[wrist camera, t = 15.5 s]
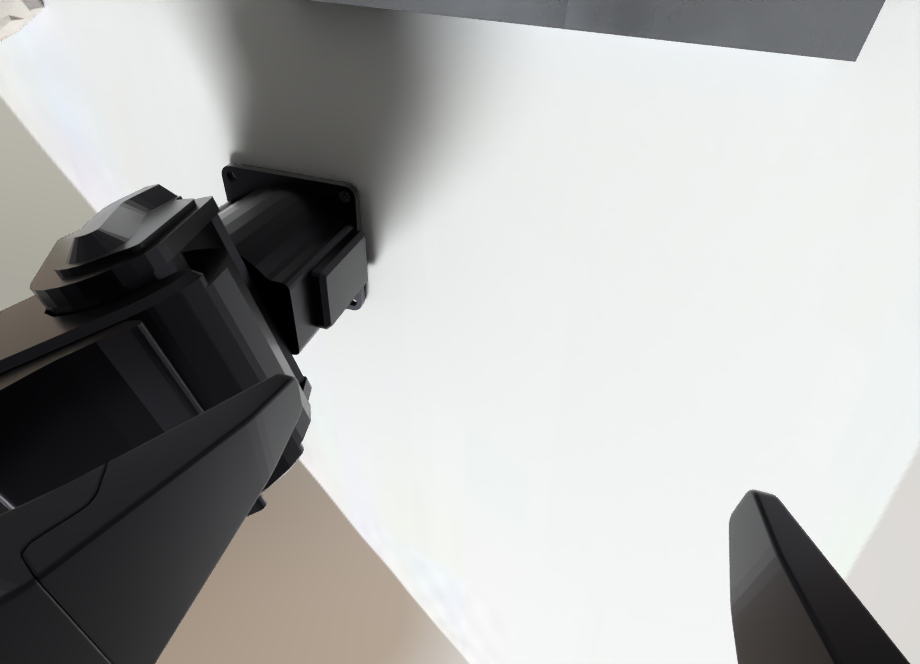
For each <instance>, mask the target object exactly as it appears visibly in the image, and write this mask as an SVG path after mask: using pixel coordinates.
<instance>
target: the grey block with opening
mask: <svg viewBox="0 0 920 664" xmlns="http://www.w3.org/2000/svg"><path fill="white" fill-rule="evenodd" d="M311 1H320V2H329V3H338V4H347V5H356V6H365V7H374V8H383V9H392V10H400V11H409V12H418V13H427V14H436V15H445V16H454V17H463V18H472V19H480V20H489V21H498V22H507V23H516V24H525V25H534V26H543V27H552V28H561V29H569V30H578V31H587V32H596V33H605V34H614V35H623V36H632V37H641V38H649V39H658V40H667V41H676V42H685V43H694V44H703V45H712V46H721V47H729V48H738V49H747V50H756V51H765V52H774V53H783V54H792V55H801V56H810V57H818V58H827V59H836V60H845V61H854V62H855V61H856V59H857V57H858V55H859V53H860V51H861V49H862V47H863V45H864V43H865V41H866V39H867V37H868V35H869V33H870V31H871V29H872V27H873V25H874V23H875V20H876V18H877V16H878V14H879V12H880V10H881V8H882V6H883V4H884V2H885V0H311Z"/></svg>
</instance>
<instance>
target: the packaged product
mask: <svg viewBox="0 0 920 664" xmlns="http://www.w3.org/2000/svg"><path fill="white" fill-rule="evenodd" d="M43 8H44V6H43V4H42V2H41V1H40V0H0V41H2V40H4V39H6V38H7V37H9V36H11V35H13V34H14V33H16V32H18V31H19V30H20V29H22V28H23V27H24V26H25V25H26V24H27V23H29V22H30V21H31V20H32V19H33V18H34V17H35V16H36V15H37V14H38V13H39V12H40V11H41V10H42V9H43Z"/></svg>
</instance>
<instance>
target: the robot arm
mask: <svg viewBox="0 0 920 664" xmlns="http://www.w3.org/2000/svg"><path fill="white" fill-rule="evenodd" d="M232 172H233V173H234V174H235V175H236V177H237V179H236V178H235V177H234V176H233V174H232ZM222 178H223V182H224V187H225V191H226V196H227V200H228V202H227V203H225V204H224V205H222V206H220V207H219V208H218V206H217V204H216V202H215V200H214V198H213V197H212V196H209V197H204V198H199V199H182V197H181V196H177V195H175V194H173V193H172V192H170V191H169V190H167V189H166V188H164V187H162V186H161V185H159V184H157V185H153V186H148V187H145V188H143V189H140V190H138V191H136V192H134V193H132V194H130V195H128V196H126V197H124V198H122V199H120V200H118V201H116V202H114V203H112V204H110V205H108V206H107V207H105V208H104V209H102V210H101V211H100V212H98V213H97V214H96V216H94V218H92V219H91V220H90V221H88V222H87V223H86V224H85V225H84V227H83V228H82V229H81V230H79V231H76V232H74V233H72V234H69V235H67V236H65V237H62V238H61V239H59V240H58V241H57V242H56V244H55V245H54V247H53V248H52V250H51V252H50V253H49V255H48V257H47V258H46V260H45V261H44V263H43V265H42V266H41V268H40V270H39V271H38V273H37V274H36V276H35V277H34V279H33V281H32V282H31V284H30V289H31V290H32V291H33V293H34V294H35V295H34V296H32V297H30V298H28V299H26V300H24V301H21V302H19V303H18V304H15V305H13V306H11V307H9V308H6V309H5V310H2V311H0V664H155V663H156V661H157V660H158V658H159V656H160V655H161V653H162V652H163V650H164V648H165V647H166V645H167V644H168V642H169V640H170V639H171V637H172V635H173V634H174V632H175V631H176V629H177V627H178V626H179V624H180V623H181V621H182V619H183V618H184V616H185V615H186V613H187V611H188V610H189V608H190V606H191V605H192V603H193V601H194V600H195V598H196V597H197V595H198V594H199V592H200V590H201V589H202V587H203V585H204V584H205V582H206V581H207V579H208V577H209V576H210V574H211V572H212V571H213V569H214V568H215V566H216V564H217V563H218V561H219V560H220V558H221V556H222V555H223V553H224V552H225V550H226V548H227V547H228V545H229V543H230V542H231V540H232V538H233V537H234V535H235V534H236V532H237V531H238V529H239V527H240V526H241V524H242V522H243V521H244V519H245V518H246V517H247V516H249V515H251V514H254V513H256V512H258V511H260V510H262V509H263V508H264V507H265V506H266V503H267V502H266V500H265V499H264V497H263V496H262V493H263V492H265V491H266V490H268V489H269V488H270V487H271V486H272V485H273V484H274V483H276V482H277V481H278V480H279V479H280V478H281V477H282V476H283V475H285V474H286V473H287V472H288V471H289V470H290V469H291V467H292V466H293V465H294V464H295V463H296V461H297V460H298V459H299V458H300V456H301V455H302V453H303V451H304V448H303V445H302V444H301V442H302V441H303V439H304V436H305V434H306V431H307V429H308V426H309V424H310V421H311V412H310V404H309V402H308V400H309V396H310V392H311V385H310V383H309V381H308V379H307V377H305V376H303V375H302V373H301V371H300V369H299V367H298V366H297V364H296V362H295V360H294V358H293V356H292V354H293V355H297V354H299V353H300V352H301V350H302V349H303V348H304V347H305V345H306V344H307V343H308V342H309V341H310V339H311V338H312V337H313V336H314V335H315V333H316V332H317V331H318V330H319V328H323V329H328V328H329V327H331V326H332V325H333V324H334V323H335V322H336V320H337V319H338V318H339V316H340V315H341V314H342V313H343V311H344V310H345V309H351V310H358V309H360V308H361V306H362V305H363V304H364V301H365V294H364V285H365V284H366V283H367V259H366V238H365V235H364V234H363V232H362V231H361V220H360V201H359V193H358V190H357V189H356V187H355V186H353V185H352V184H350V183H346V182H340V181H334V180H329V179H323V178H317V177H311V176H306V175H300V174H294V173H288V172H282V171H277V170H271V169H265V168H259V167H254V166H248V165H242V164H236V163H231V164H229V165H227V166H225V167H224V168H223V169H222ZM343 192H347V193H348V194H349V196H350V199H347V198H346V197H345V196H344V194H343ZM353 299H355V300H356V301H357V302H355V301H353ZM729 561H730V603H731V615H732V623H733V631H734V638H735V646H736V653H737V660H738V664H910V663H909V662H908V661H907V659H906V658H905V657H904V656H903V654H902V653H901V652H900V650H899V649H898V648H897V647H896V645H895V644H894V643H893V642H892V640H891V639H890V638H889V637H888V635H887V634H886V633H885V631H884V630H883V629H882V628H881V626H880V625H879V624H878V623H877V621H876V620H875V619H874V618H873V617H872V615H871V614H870V613H869V611H868V610H867V609H866V608H865V606H864V605H863V604H862V603H861V601H860V600H859V599H858V598H857V596H856V595H855V594H854V593H853V591H852V590H851V589H850V588H849V586H848V585H847V584H846V583H845V581H844V580H843V579H842V578H841V576H840V575H839V574H838V573H837V571H836V570H835V569H834V567H833V566H832V565H831V564H830V562H829V561H828V560H827V559H826V557H825V556H824V555H823V554H822V552H821V551H820V550H819V549H818V547H817V546H816V545H815V544H814V542H813V541H812V540H811V539H810V537H809V536H808V535H807V534H806V532H805V531H804V530H803V529H802V527H801V526H800V525H799V524H798V522H797V521H796V520H795V519H794V517H793V516H792V515H791V514H790V512H789V511H788V510H787V508H786V507H785V506H784V505H783V503H782V502H781V501H780V500H779V499H778V498H777V497H776V496H775V495H773V494H770V493H766V492H762V491H758V490H750V491H748V492H747V493H746V494H745V496H744V497H743V498H742V500H741V501H740V503H739V504H738V506H737V507H736V508H735V510H734V511H733V513H732V515H731V517H730V521H729Z"/></svg>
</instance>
